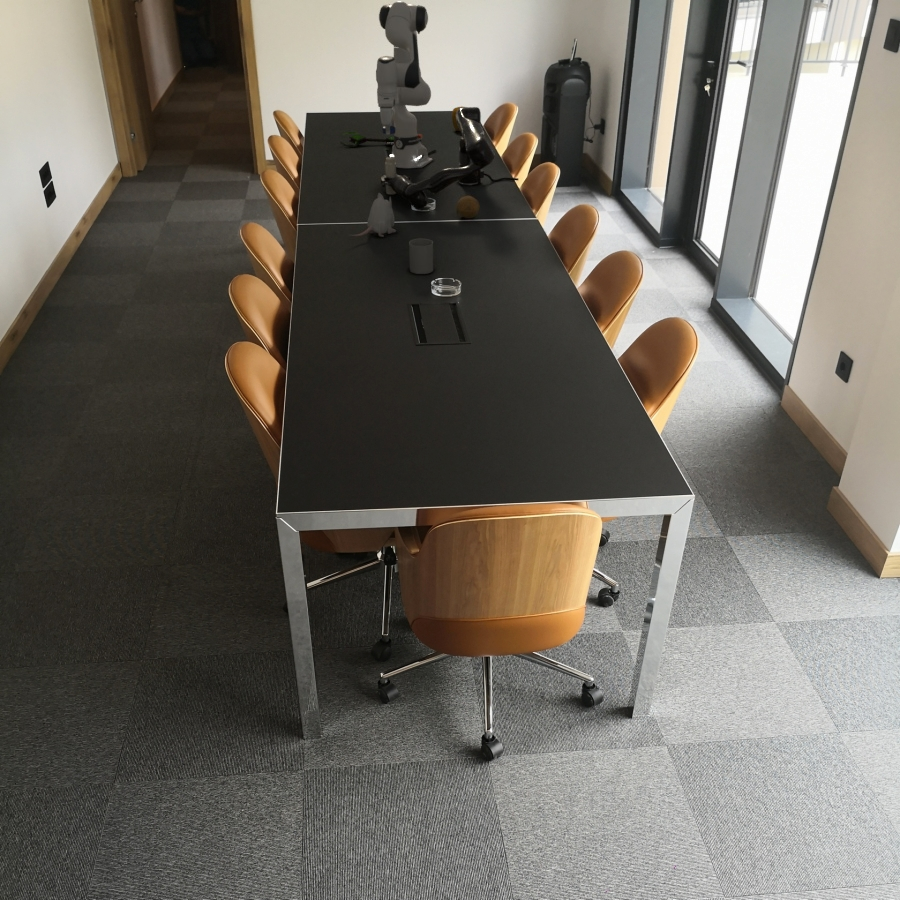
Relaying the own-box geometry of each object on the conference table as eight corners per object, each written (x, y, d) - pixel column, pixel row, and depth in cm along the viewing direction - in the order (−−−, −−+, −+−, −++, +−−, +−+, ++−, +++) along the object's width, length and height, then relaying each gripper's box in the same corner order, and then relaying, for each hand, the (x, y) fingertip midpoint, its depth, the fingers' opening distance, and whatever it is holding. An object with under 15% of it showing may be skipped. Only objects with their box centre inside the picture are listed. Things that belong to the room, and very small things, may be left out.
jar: (385, 191, 390) (384, 156, 382) (396, 191, 390) (395, 156, 382) (386, 194, 386) (385, 159, 378) (397, 194, 387) (396, 159, 378)
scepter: (396, 128, 463) (340, 126, 461) (396, 143, 456) (339, 141, 454) (396, 138, 468) (340, 135, 466) (396, 153, 461) (339, 151, 459)
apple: (471, 132, 486) (471, 108, 479) (451, 132, 486) (451, 108, 479) (470, 128, 495) (471, 104, 488) (452, 128, 495) (452, 104, 488)
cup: (409, 265, 311) (408, 238, 306) (432, 265, 312) (431, 238, 307) (410, 274, 304) (409, 246, 299) (433, 273, 305) (433, 246, 299)
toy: (401, 232, 342) (400, 194, 334) (357, 247, 328) (354, 207, 320) (386, 227, 348) (384, 189, 339) (341, 241, 333) (338, 202, 325)
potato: (477, 211, 365) (478, 192, 361) (481, 222, 353) (481, 202, 349) (454, 211, 364) (454, 192, 360) (457, 222, 352) (457, 203, 348)
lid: (388, 134, 371) (388, 129, 370) (380, 132, 374) (379, 127, 373) (398, 132, 374) (397, 127, 373) (389, 130, 378) (389, 125, 376)
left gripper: (383, 93, 376) (384, 127, 383) (377, 103, 358) (379, 138, 366) (397, 94, 375) (398, 127, 383) (392, 103, 358) (393, 138, 366)
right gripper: (387, 197, 373) (374, 186, 386) (418, 193, 378) (404, 183, 391) (386, 179, 369) (373, 169, 382) (417, 175, 374) (403, 166, 387)
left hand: (388, 132), depth 374 cm, fingers closed on lid, 5 cm apart
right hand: (388, 176), depth 387 cm, fingers closed on jar, 4 cm apart
